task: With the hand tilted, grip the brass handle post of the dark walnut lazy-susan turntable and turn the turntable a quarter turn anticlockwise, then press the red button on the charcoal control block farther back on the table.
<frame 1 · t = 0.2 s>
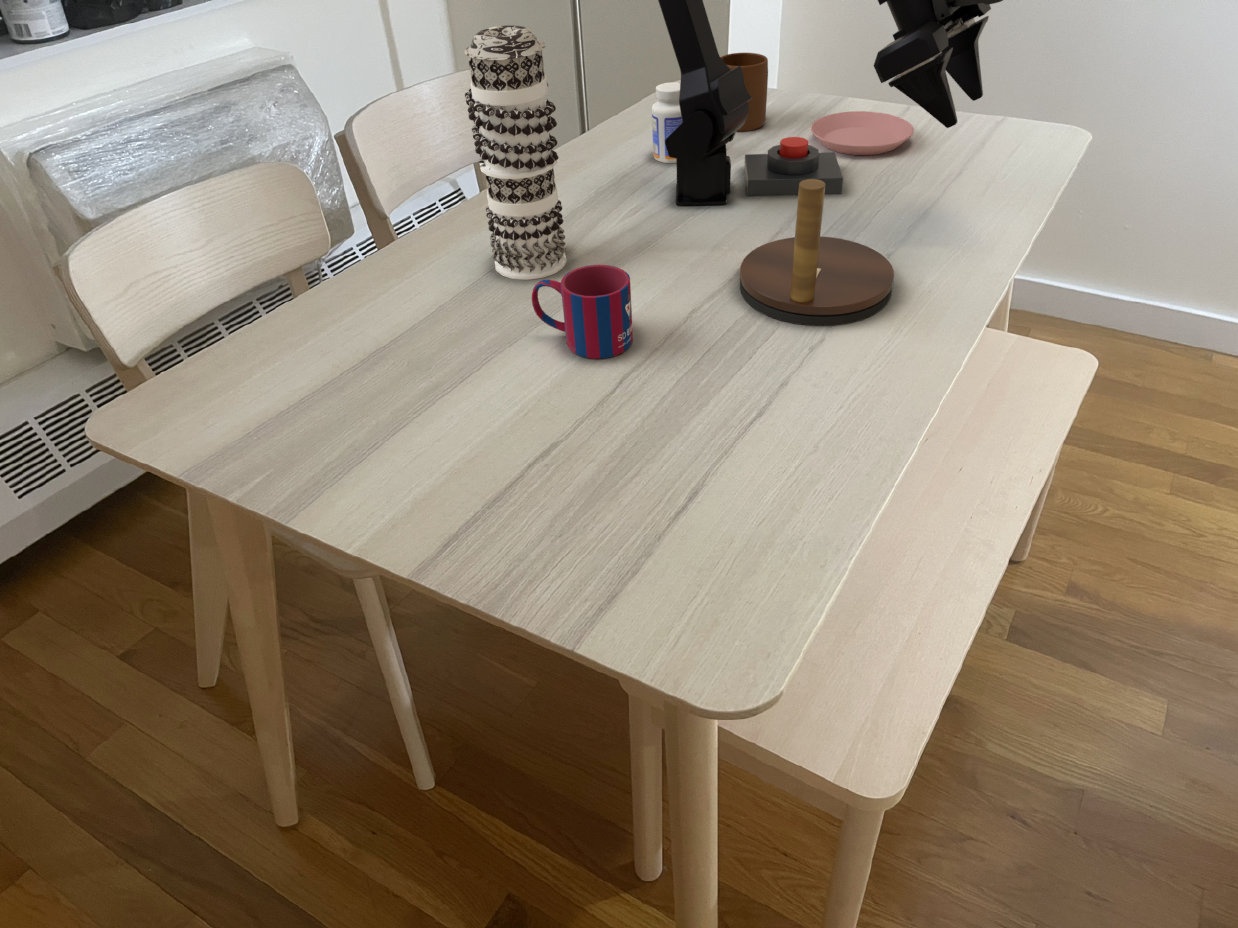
hand: (965, 111, 93), 15 cm above the table, tool tilted 35°, fingers open, 9 cm apart
control block: (791, 181, 118), on the table
turntable: (821, 220, 91), point 8 cm above the table, hinge at 0.0°
button: (793, 148, 115), point 4 cm above the table, slide at 0.1 cm
turntable base: (814, 287, 96), on the table
pill bottle: (672, 158, 127), on the table
decorative candle: (530, 264, 104), on the table
plate: (859, 143, 128), on the table
cup: (585, 340, 90), on the table
mug: (732, 129, 135), on the table
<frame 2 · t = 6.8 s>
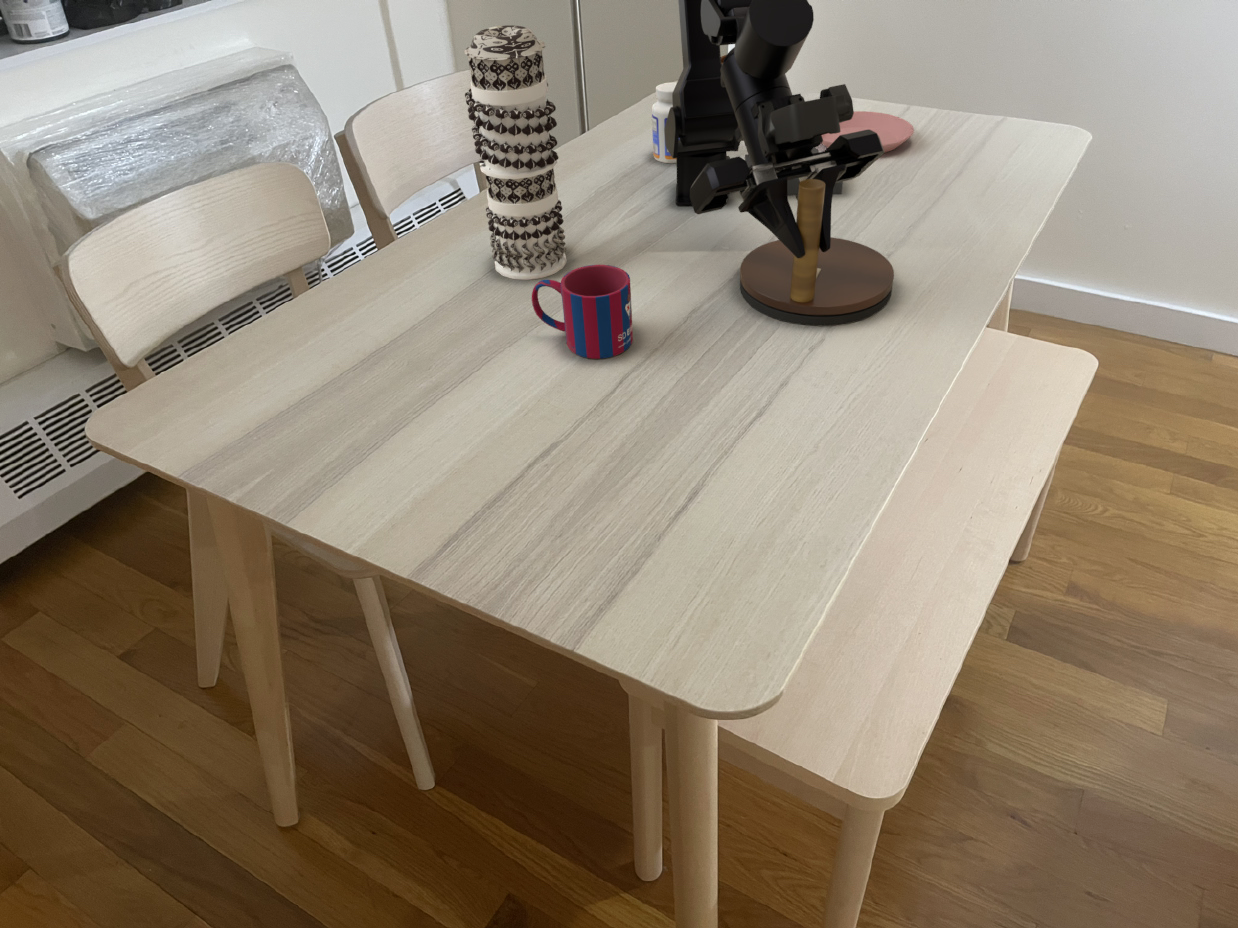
hand: (814, 253, 86), 8 cm above the table, tool tilted 45°, fingers closed on turntable, 2 cm apart
turntable: (821, 220, 91), point 8 cm above the table, hinge at 0.0°, touching gripper
everything else where it was.
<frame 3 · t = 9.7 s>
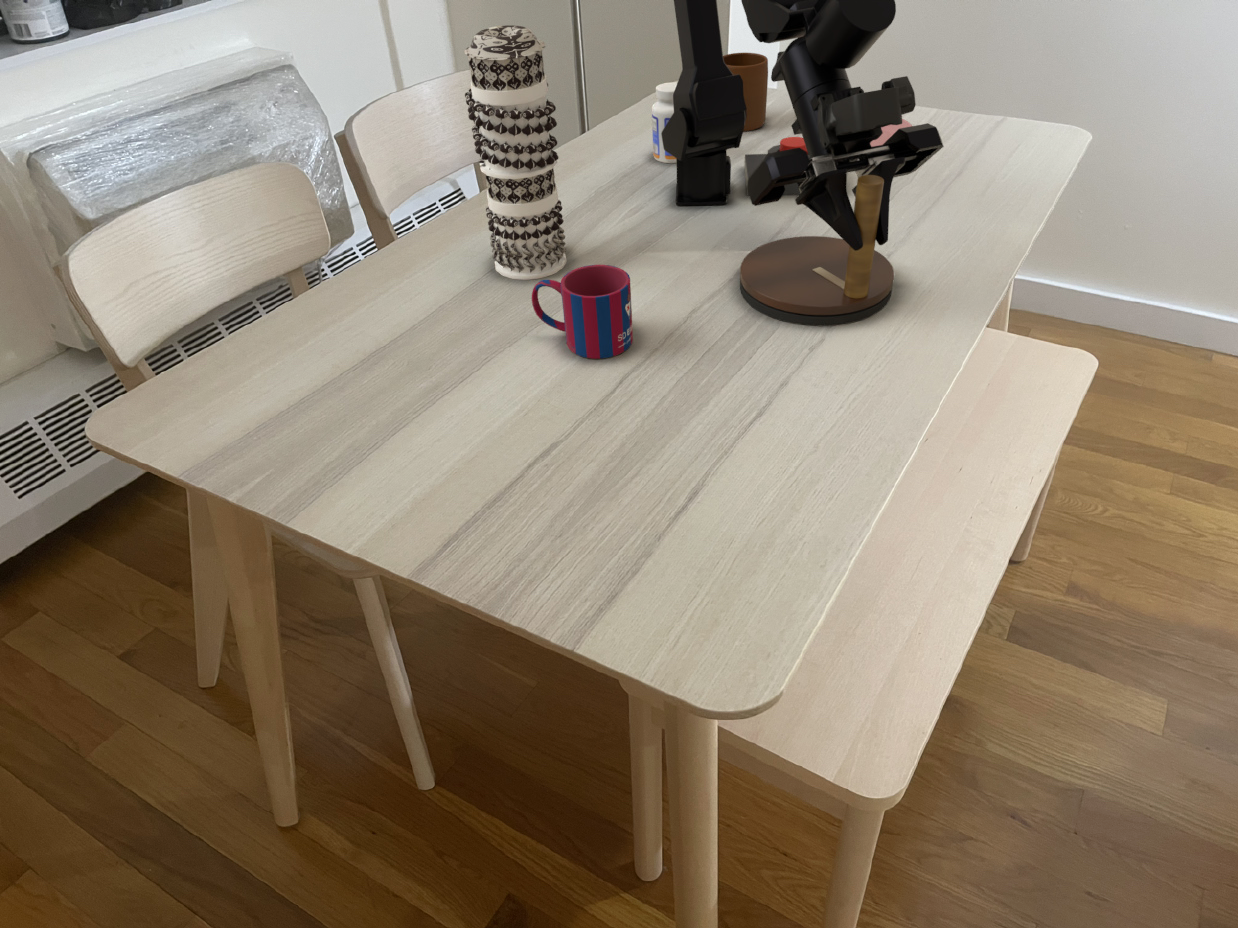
hand: (871, 246, 85), 8 cm above the table, tool tilted 45°, fingers closed on turntable, 2 cm apart
turntable: (821, 220, 91), point 8 cm above the table, hinge at 51.6°, touching gripper
everything else where it was.
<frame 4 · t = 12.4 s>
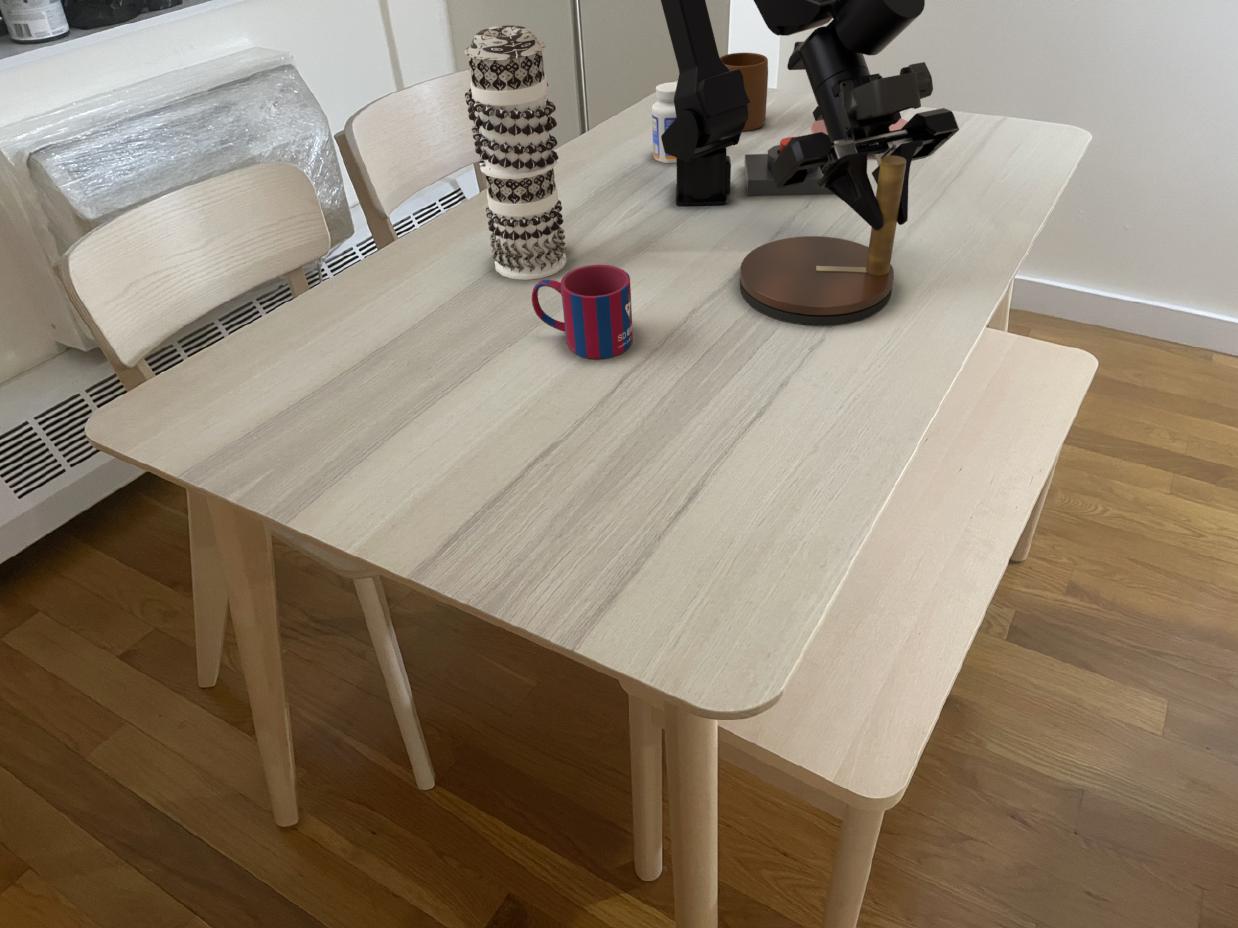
hand: (891, 225, 89), 8 cm above the table, tool tilted 45°, fingers closed on turntable, 2 cm apart
turntable: (821, 220, 91), point 8 cm above the table, hinge at 103.5°, touching gripper
everything else where it was.
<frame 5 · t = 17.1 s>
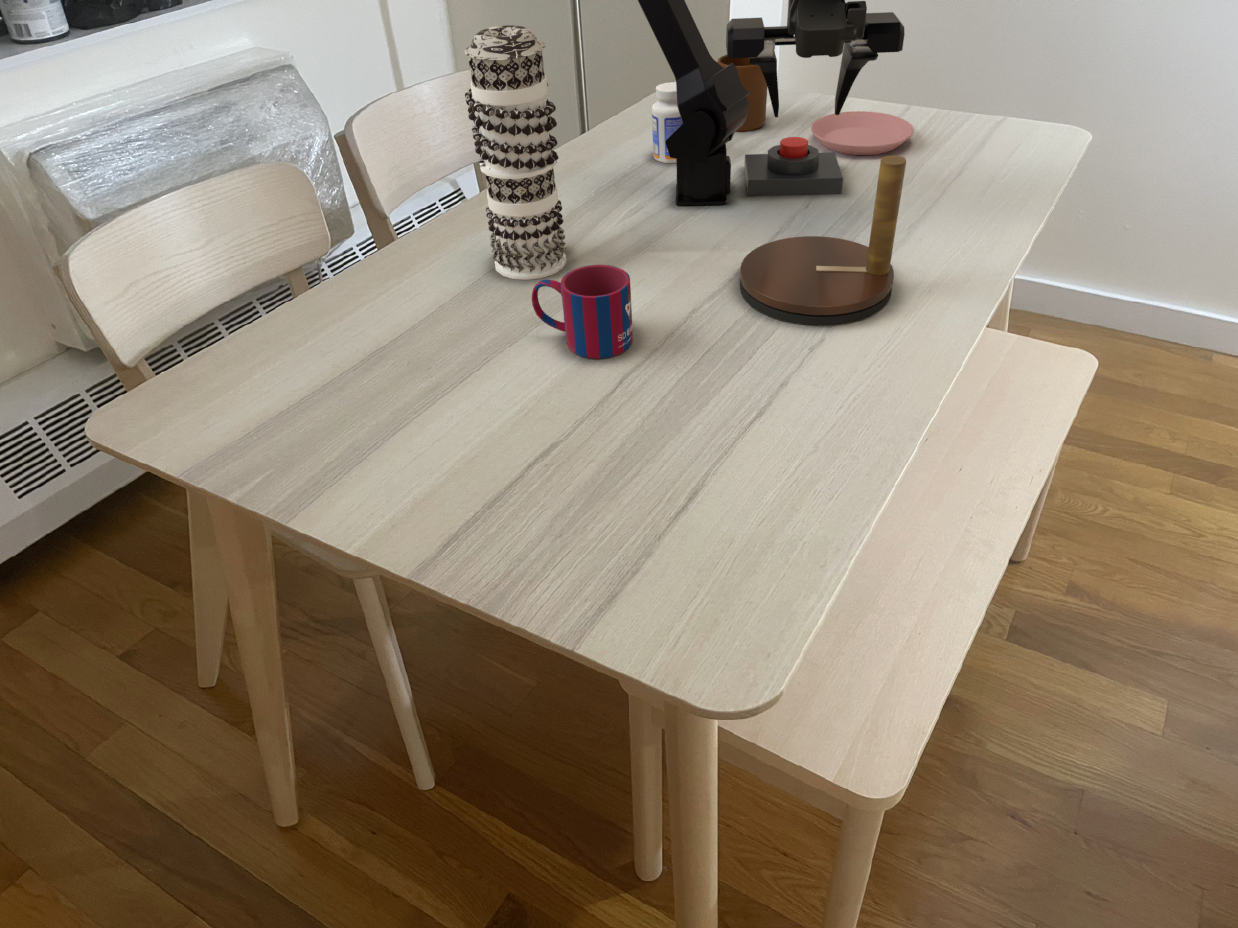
hand: (806, 115, 103), 12 cm above the table, tool pointing down, fingers open, 7 cm apart
turntable: (821, 220, 91), point 8 cm above the table, hinge at 103.9°
everything else where it was.
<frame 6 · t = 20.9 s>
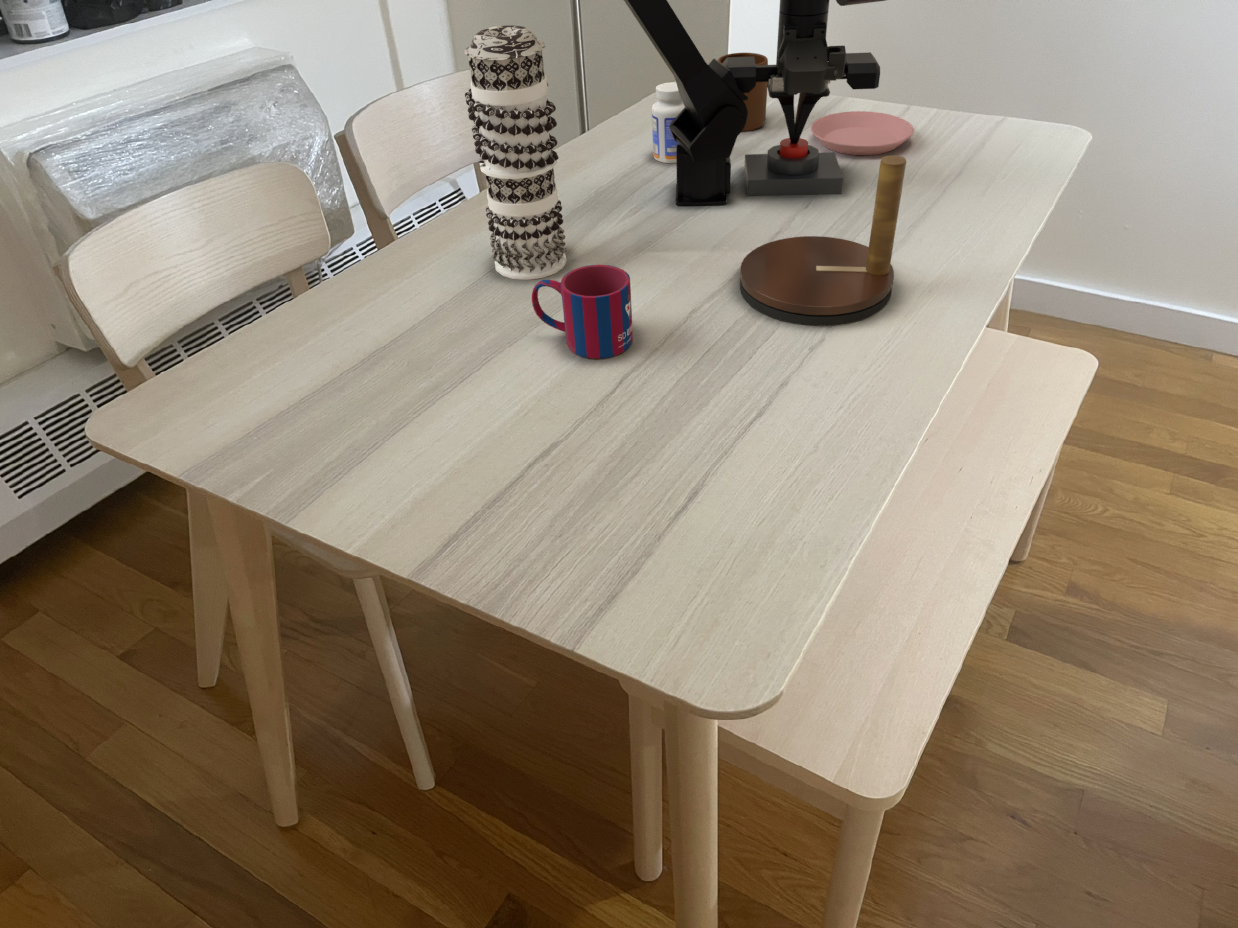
hand: (793, 142, 115), 5 cm above the table, tool pointing down, fingers closed, pressing on button
button: (793, 149, 115), point 4 cm above the table, slide at 0.0 cm, touching gripper
everything else where it was.
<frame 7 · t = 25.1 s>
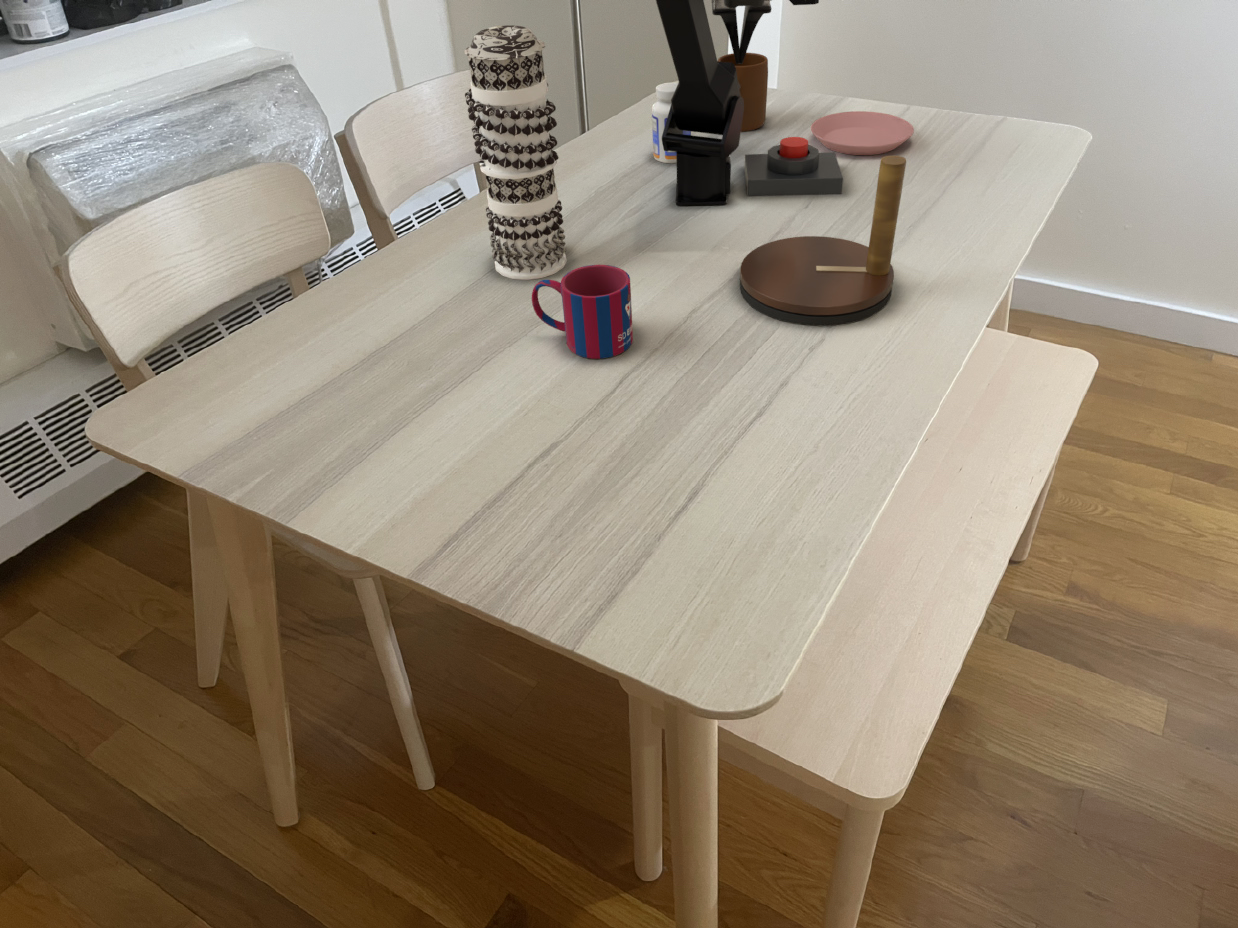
hand: (739, 62, 117), 13 cm above the table, tool pointing down, fingers closed
button: (793, 148, 115), point 4 cm above the table, slide at 0.1 cm
everything else where it was.
at the end: turntable at +104° (first picture: +0°); button pushed in 1.1 cm at the most during the clip, back to where it started at the end; button slide at 0.1 cm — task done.
